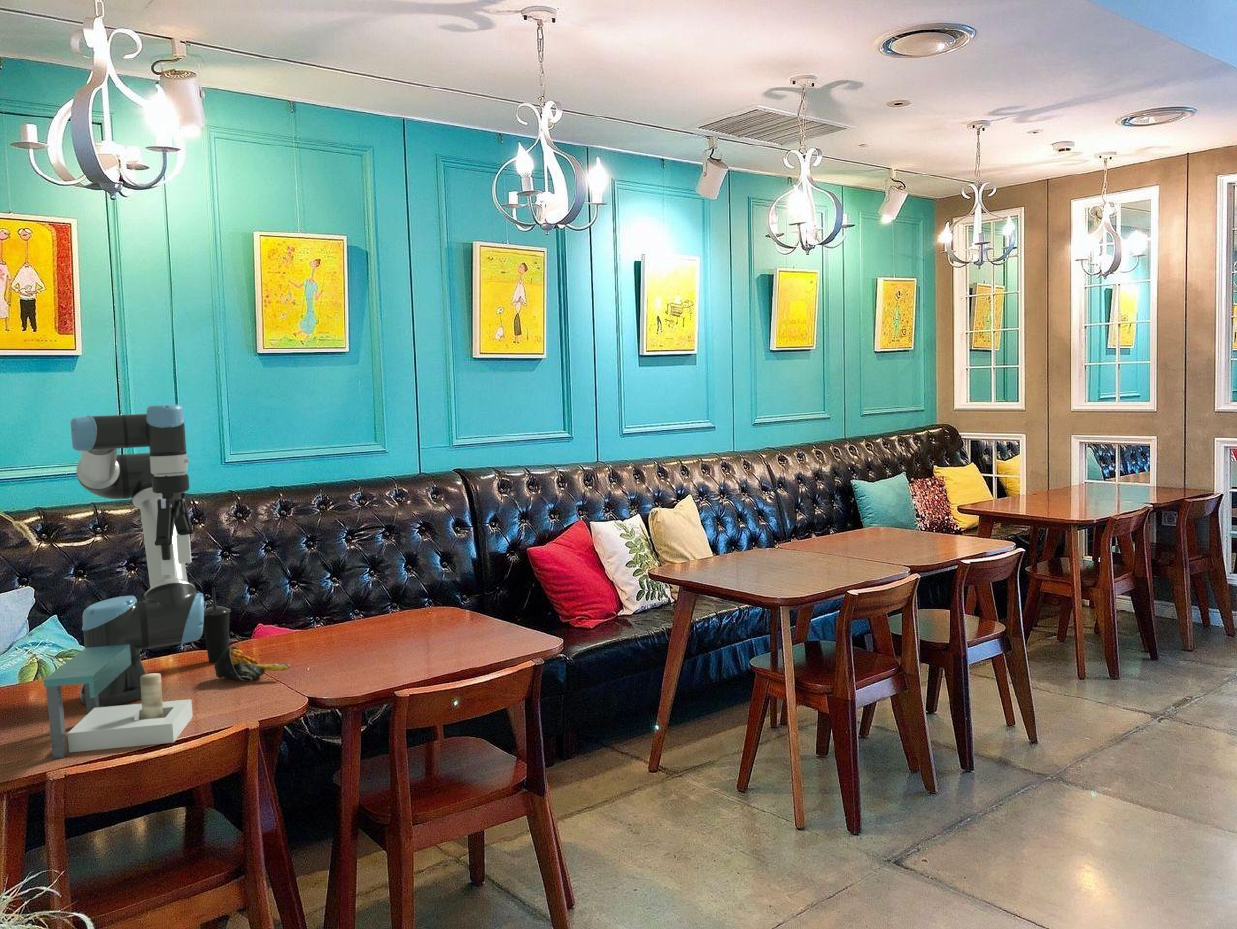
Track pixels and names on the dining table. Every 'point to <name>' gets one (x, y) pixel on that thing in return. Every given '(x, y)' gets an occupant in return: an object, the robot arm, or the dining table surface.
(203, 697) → the dining table surface
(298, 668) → the dining table surface
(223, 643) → the drinking cup
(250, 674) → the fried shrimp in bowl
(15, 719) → the dining table surface
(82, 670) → the teal miniature table
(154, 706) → the wooden peg
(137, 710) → the socket block
